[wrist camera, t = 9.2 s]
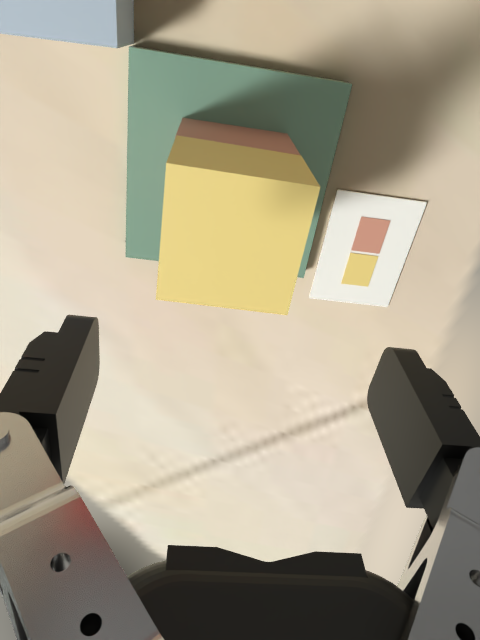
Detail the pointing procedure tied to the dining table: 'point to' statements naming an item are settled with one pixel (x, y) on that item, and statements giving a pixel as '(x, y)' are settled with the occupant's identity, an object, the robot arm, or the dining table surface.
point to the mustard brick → (233, 225)
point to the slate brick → (70, 20)
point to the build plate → (220, 107)
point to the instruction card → (365, 247)
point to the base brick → (237, 135)
